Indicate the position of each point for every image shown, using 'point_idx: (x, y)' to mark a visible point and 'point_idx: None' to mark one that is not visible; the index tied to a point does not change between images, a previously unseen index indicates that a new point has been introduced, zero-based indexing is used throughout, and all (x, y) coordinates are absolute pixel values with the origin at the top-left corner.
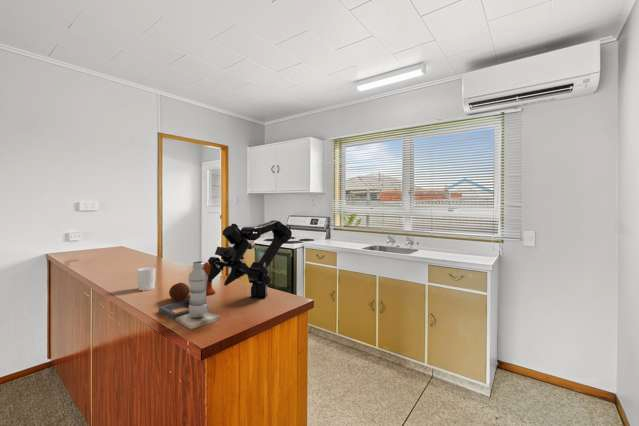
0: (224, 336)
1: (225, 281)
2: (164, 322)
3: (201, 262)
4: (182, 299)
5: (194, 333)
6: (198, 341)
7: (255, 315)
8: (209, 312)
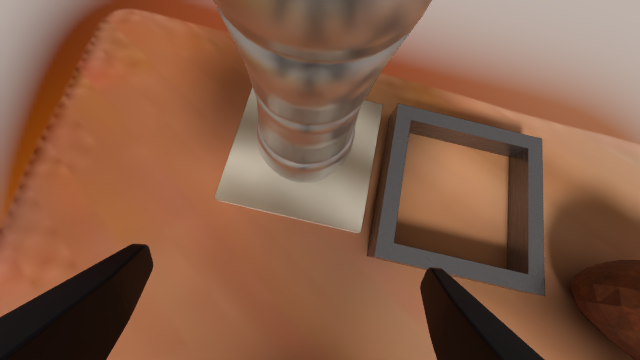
0: (90, 84)
1: (114, 265)
2: (399, 86)
3: None
4: (576, 280)
5: (218, 62)
6: (158, 26)
7: None
8: (300, 215)
